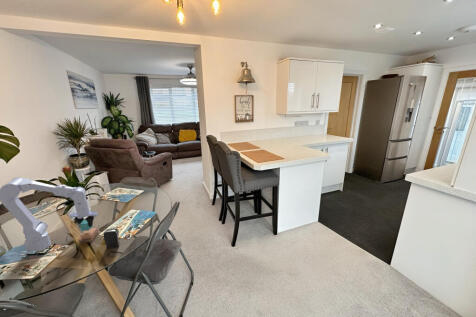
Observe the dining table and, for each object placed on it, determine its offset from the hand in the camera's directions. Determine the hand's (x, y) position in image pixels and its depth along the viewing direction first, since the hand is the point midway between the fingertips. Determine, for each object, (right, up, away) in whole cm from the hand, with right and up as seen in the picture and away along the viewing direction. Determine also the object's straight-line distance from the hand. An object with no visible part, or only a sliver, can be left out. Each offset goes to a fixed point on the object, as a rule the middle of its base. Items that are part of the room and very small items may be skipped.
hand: (87, 226), depth 113 cm
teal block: (0, -1, 0) cm, 2 cm away
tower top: (0, -6, +2) cm, 7 cm away
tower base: (0, -9, +2) cm, 9 cm away
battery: (+18, -11, -3) cm, 22 cm away
